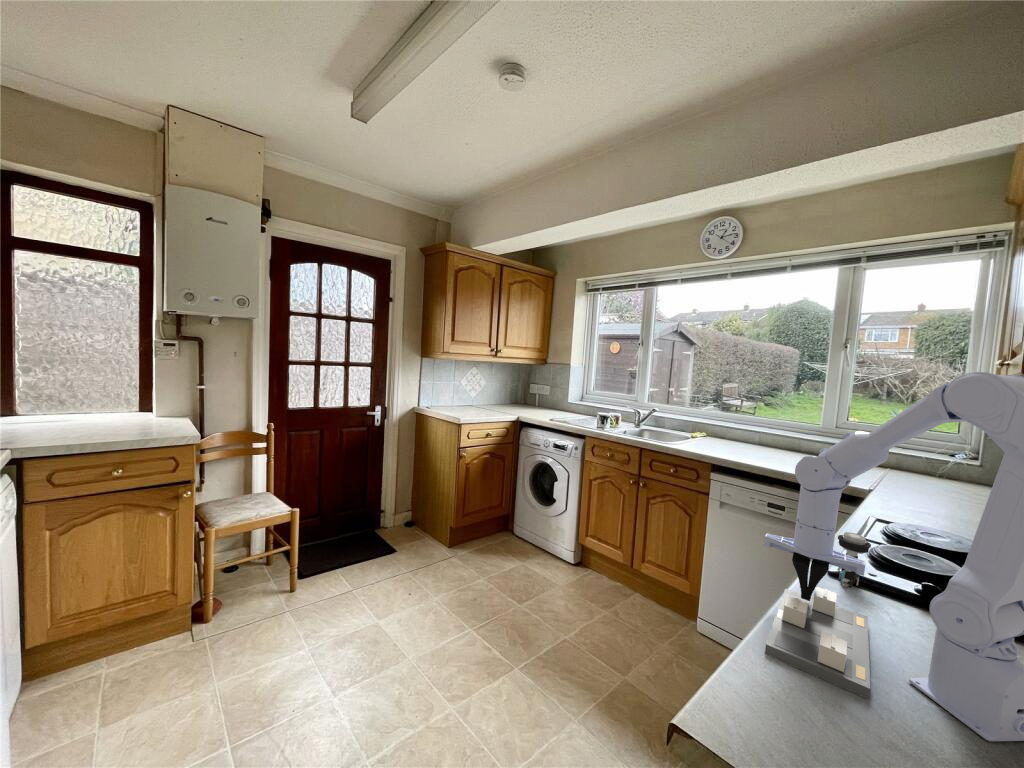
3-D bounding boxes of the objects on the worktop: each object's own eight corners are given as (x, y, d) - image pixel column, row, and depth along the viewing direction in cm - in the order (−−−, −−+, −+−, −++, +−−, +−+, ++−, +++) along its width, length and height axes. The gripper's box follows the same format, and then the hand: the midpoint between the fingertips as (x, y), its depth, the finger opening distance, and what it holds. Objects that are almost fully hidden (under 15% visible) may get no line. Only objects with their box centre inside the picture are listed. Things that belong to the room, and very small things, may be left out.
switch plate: (868, 699, 56) (870, 688, 56) (764, 653, 64) (765, 643, 64) (866, 625, 73) (867, 616, 73) (784, 595, 81) (785, 587, 81)
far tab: (833, 616, 72) (835, 600, 72) (812, 608, 74) (814, 593, 74) (834, 606, 75) (836, 591, 75) (814, 599, 77) (816, 584, 77)
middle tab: (804, 628, 68) (806, 611, 68) (782, 619, 70) (784, 603, 70) (806, 617, 71) (808, 601, 71) (785, 609, 73) (787, 594, 73)
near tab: (843, 672, 58) (846, 653, 58) (817, 661, 60) (819, 642, 60) (844, 657, 62) (847, 639, 61) (819, 647, 63) (821, 629, 63)
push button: (859, 594, 83) (866, 545, 83) (827, 582, 87) (833, 535, 87) (867, 584, 88) (874, 537, 87) (836, 573, 92) (842, 528, 91)
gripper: (868, 530, 74) (857, 605, 75) (771, 506, 83) (763, 574, 84) (869, 542, 68) (857, 623, 69) (765, 515, 77) (756, 587, 78)
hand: (805, 597), depth 76 cm, fingers closed
